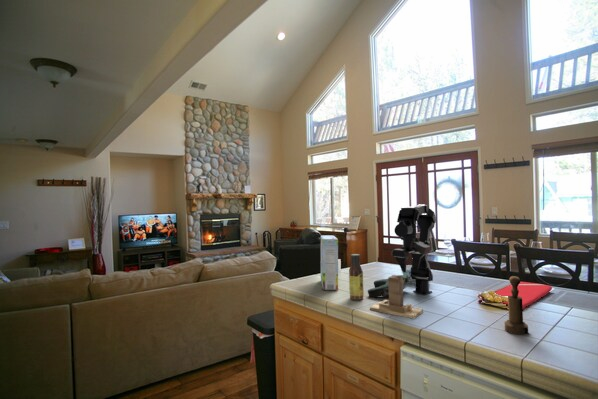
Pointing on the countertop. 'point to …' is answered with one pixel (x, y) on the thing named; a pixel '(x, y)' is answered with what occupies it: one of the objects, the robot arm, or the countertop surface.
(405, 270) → the robot arm
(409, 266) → the chinaware
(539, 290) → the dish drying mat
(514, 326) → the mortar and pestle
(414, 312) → the oak base board
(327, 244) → the snack box
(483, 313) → the countertop surface
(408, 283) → the teal curved piece
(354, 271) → the sauce bottle
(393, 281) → the walnut board piece
